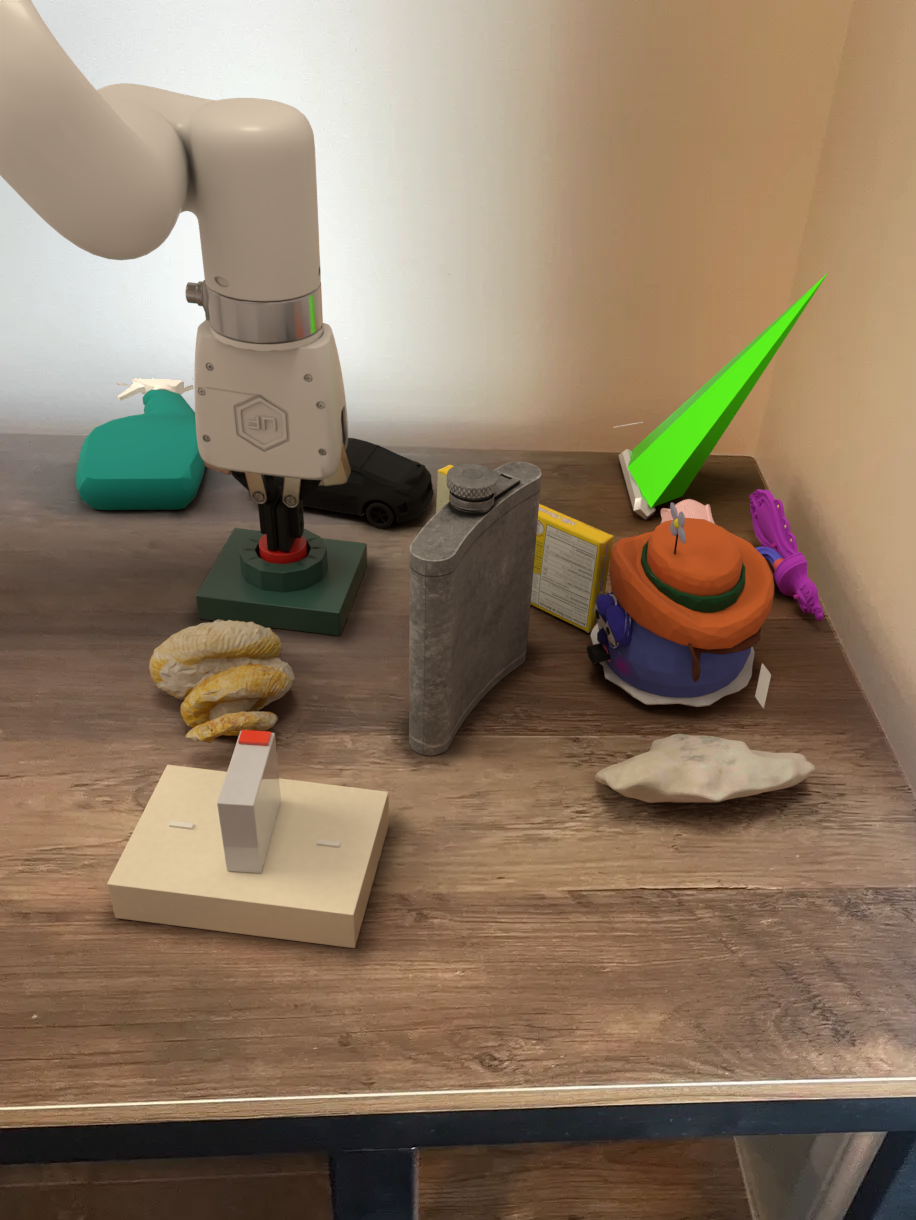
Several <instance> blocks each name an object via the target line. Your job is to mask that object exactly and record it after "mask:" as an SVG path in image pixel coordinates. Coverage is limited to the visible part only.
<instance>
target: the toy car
mask: <svg viewBox="0 0 916 1220" xmlns="http://www.w3.org/2000/svg"><path fill="white" fill-rule="evenodd" d="M345 451H346V455H347V458H348V462H349V465H350V468H351V474H350V476H349V478H348V480H347V482H346V483H345V484H340V485H331V486H324V485H323V486H318V487H317V488H316V489H314V490H313V491H312V492H311V493H310V494H308V495H307V496H306V497H305V498H303V507H307V508H312V509H313V508H314V509H319V510H325V511H330V512H336V513H343V514H348V515H349V514H350V515H357V516H359V517H363V516H364V515H366V519H367V521H368V522H369V523H370V524H371V525H372V526H374V527H376V528H377V529H386V528H388V527H390V526H391V525H392V523H393V522H394V521H395V520H396V522H397V523H403V522H407V521H411V520H414V519H417V518H419V517H420V516H421V515H422V514H424V512H425V511H426V510H427V509H428V507H429V506H430V505H431V502H432V500H433V498H434V487H433V480H432V474H431V472H430V470H428V469H427V468H426V465H425V464H423V463H420V462H419V461H417V460H412V459H410V458H408V457H405V456H403V455H401V454H399V453H396V452H394V451H392V450H390V449H387V448H386V447H384V446H382V445H379V444H375V443H372V442H370V441H368V440H363V439H360V438H356V437H355V438H354V437H348V445H347V448H346V450H345ZM276 479H277V482H276V483H277V484H278V485H279V486H282V490H283V487H284V477H279V476H276Z"/></svg>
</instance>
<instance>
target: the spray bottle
mask: <svg viewBox="0 0 916 1220" xmlns="http://www.w3.org/2000/svg"><path fill="white" fill-rule="evenodd" d="M132 382H133V384H132V385H130V384H126V383H117V382H116V385H117V386H127V387H128V386H129V387H128V388H127V389H125V390H124V391H123V392H121V393H119V395H117V396H116V398H117V401H119V402H121V401H123V400H126V399H129V398H131V397H133V396H136V395H138V394H142V395H143V396H142V404H143V405H144V407H143V412H144V413H140V414H133V415H127V416H124V417H119V418H115V419H111V420H109V421H107V422H105V423H103V424H100V425H98V426H96V427H94V428H93V429H92V430H91V432H89V434H88V435H87V436H86V437H85V438H84V441H83V443H82V445H81V447H80V451H79V456H78V461H77V466H76V470H75V486H76V490H77V492H78V494H79V497H80V499H81V501H82V502H83V503H84V504H86V505H88V506H89V507H90V508H92V509H93V510H100V511H142V510H143V511H147V510H149V511H151V510H153V511H155V510H157V511H159V510H160V511H161V510H171V511H172V510H182V509H186V508H187V507H188V506H189V504H190V503H191V502H192V501H193V500H194V499H195V498H196V496H197V494H198V491H199V488H200V486H201V483H202V481H203V478H204V475H205V470H206V466H205V464H204V460H203V459H202V458H201V456H200V453H199V450H198V444H197V435H196V421H195V410H194V409H193V408H192V407H191V405H190V404H189V403H188V401H187V400H186V399H185V398H184V396H182V395H183V394H185V393H186V392H189V391H192V390H195V387H194V384H193V385H190V386H187V387H185V388H184V382H183V381H181V380H171V379H154V378H152V379H141V378H139V379H137V378H135V379H132Z"/></svg>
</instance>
